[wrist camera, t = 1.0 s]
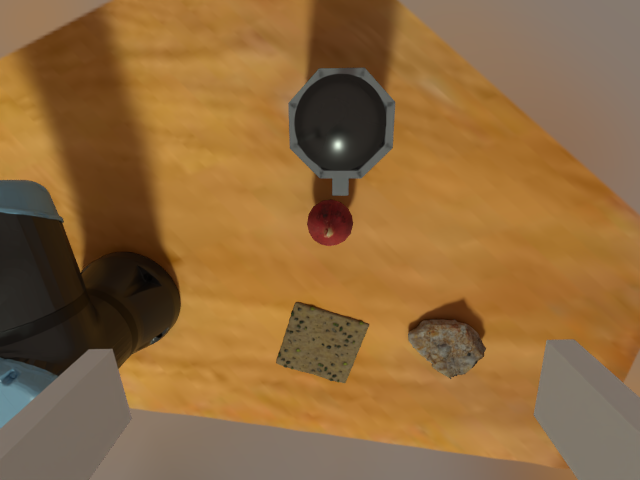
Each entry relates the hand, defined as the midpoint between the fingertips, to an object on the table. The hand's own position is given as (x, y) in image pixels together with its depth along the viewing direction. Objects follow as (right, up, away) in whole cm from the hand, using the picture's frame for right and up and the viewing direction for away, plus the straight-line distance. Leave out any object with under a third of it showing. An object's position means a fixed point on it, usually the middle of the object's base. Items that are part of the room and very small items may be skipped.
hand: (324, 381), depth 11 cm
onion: (+1, +8, +37) cm, 38 cm away
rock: (+19, -11, +42) cm, 48 cm away
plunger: (+2, +15, +22) cm, 27 cm away
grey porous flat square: (0, -12, +44) cm, 46 cm away
